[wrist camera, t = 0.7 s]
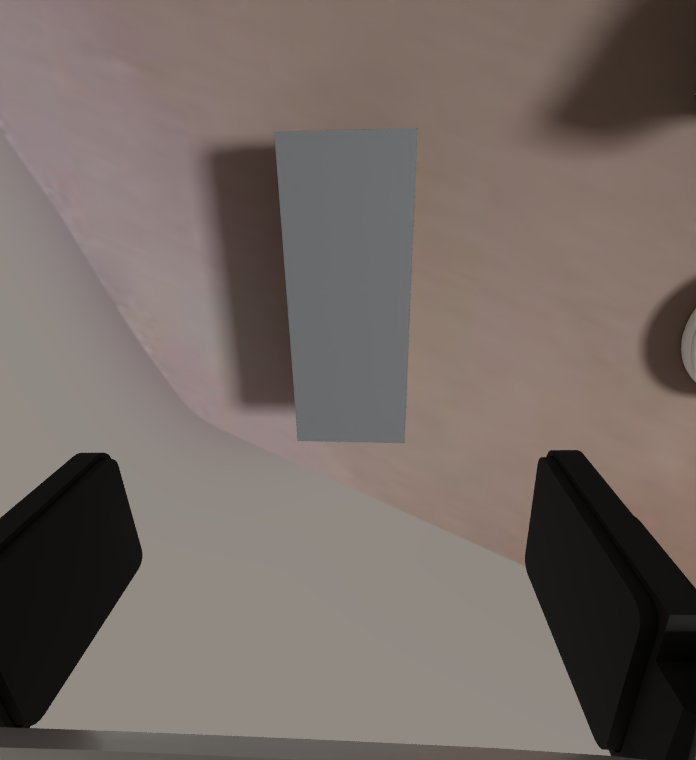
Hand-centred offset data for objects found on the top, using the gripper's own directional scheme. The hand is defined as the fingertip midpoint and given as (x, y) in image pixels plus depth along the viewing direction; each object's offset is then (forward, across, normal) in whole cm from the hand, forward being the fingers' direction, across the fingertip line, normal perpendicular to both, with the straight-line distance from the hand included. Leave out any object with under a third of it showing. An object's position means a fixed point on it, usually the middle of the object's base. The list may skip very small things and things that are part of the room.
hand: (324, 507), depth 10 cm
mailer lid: (+22, +1, 0) cm, 22 cm away
